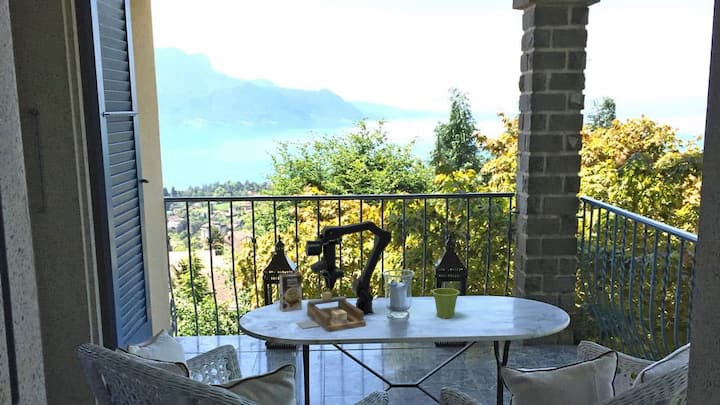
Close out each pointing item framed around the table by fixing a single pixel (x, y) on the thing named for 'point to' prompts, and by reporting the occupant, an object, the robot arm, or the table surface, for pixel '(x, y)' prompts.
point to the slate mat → (308, 324)
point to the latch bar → (327, 299)
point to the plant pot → (445, 301)
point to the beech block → (339, 316)
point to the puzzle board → (324, 316)
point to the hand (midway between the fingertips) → (329, 289)
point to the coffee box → (290, 292)
